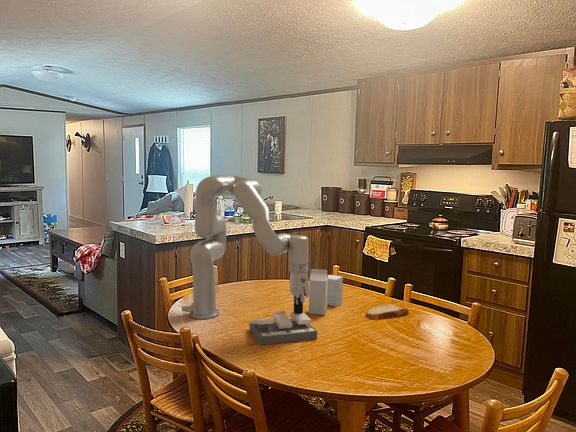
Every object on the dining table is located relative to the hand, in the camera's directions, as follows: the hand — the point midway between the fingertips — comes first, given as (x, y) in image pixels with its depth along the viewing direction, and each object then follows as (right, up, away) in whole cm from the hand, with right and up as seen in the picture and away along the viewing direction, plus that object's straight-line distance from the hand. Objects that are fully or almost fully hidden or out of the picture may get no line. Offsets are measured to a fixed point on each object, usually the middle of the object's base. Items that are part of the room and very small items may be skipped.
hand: (298, 312), depth 191 cm
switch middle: (-6, -1, -6) cm, 9 cm away
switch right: (+1, -1, -3) cm, 4 cm away
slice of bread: (+39, -5, +20) cm, 44 cm away
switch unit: (-6, -7, -6) cm, 11 cm away
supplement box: (+16, -3, +34) cm, 38 cm away
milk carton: (+9, -4, +21) cm, 23 cm away
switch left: (-13, -2, -8) cm, 16 cm away
